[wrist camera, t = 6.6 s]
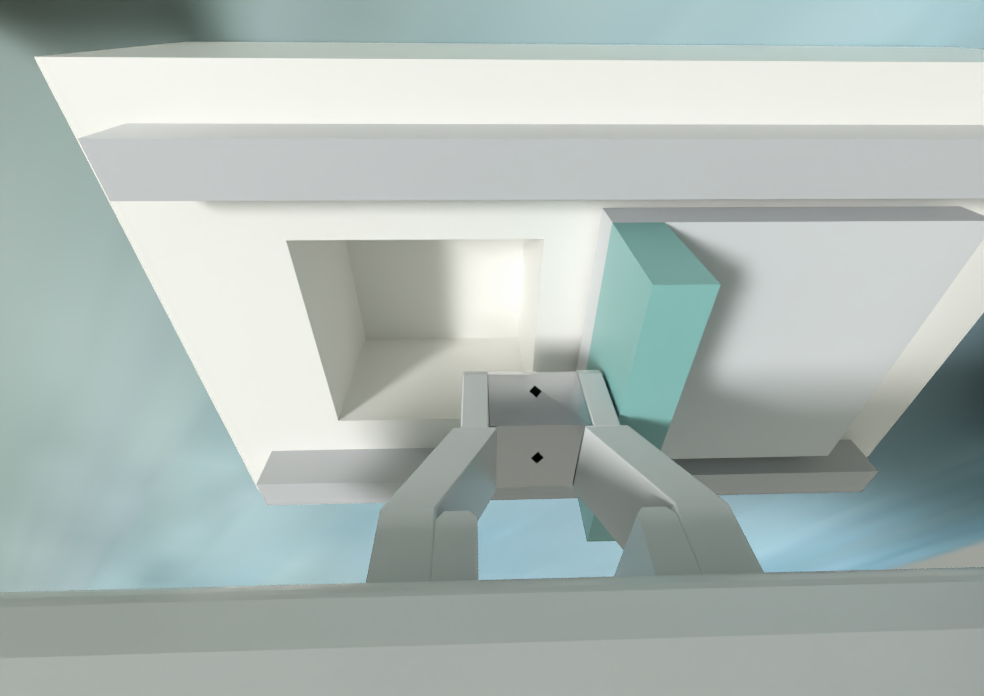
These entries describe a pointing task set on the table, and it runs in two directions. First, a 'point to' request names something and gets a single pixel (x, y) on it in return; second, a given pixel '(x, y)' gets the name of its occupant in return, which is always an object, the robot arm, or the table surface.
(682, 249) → the shutter
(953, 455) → the table surface
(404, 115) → the socket box
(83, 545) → the table surface
